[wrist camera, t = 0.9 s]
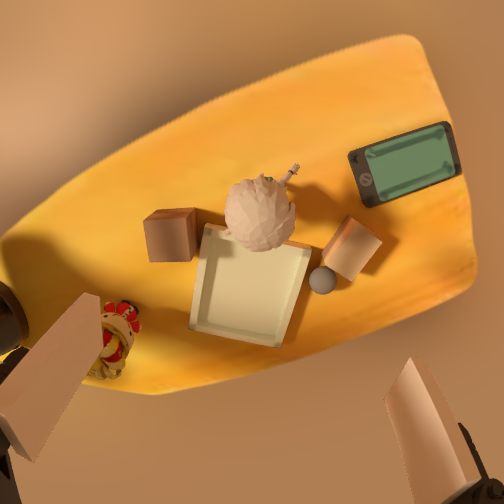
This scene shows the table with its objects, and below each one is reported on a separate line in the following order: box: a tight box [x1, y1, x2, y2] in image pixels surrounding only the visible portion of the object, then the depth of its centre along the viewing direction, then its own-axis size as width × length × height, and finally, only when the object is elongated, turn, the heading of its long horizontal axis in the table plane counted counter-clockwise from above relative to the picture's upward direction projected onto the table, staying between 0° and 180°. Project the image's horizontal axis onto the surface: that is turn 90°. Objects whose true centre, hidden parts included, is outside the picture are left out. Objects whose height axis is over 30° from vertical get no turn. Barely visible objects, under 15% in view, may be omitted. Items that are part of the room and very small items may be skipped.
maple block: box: [321, 215, 382, 282], centre depth 37 cm, size 4×6×4 cm, turn 148°
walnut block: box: [143, 207, 199, 262], centre depth 36 cm, size 5×5×5 cm
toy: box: [86, 300, 142, 380], centre depth 37 cm, size 7×7×15 cm
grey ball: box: [309, 266, 337, 295], centre depth 38 cm, size 4×4×4 cm
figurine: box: [223, 163, 300, 252], centre depth 29 cm, size 10×6×15 cm, turn 135°
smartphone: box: [348, 121, 461, 208], centre depth 34 cm, size 7×1×15 cm
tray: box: [188, 223, 312, 348], centre depth 40 cm, size 13×15×2 cm
